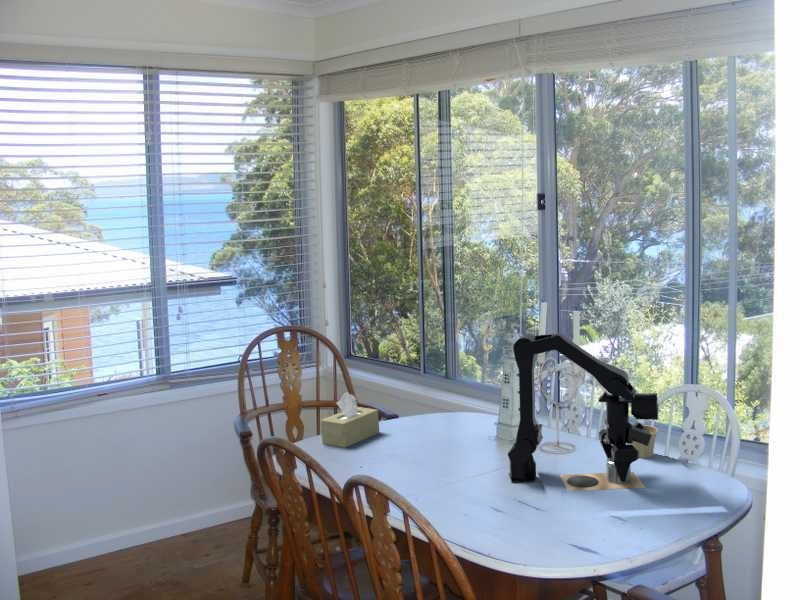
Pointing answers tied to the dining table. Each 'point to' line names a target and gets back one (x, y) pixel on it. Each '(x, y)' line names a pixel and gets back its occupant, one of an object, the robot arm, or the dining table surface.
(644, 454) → the flower pot
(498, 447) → the dining table surface
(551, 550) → the dining table surface
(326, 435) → the tissue box
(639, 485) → the board
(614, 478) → the cap
